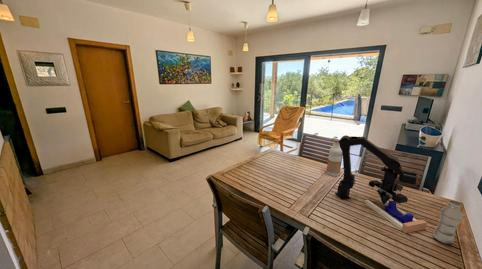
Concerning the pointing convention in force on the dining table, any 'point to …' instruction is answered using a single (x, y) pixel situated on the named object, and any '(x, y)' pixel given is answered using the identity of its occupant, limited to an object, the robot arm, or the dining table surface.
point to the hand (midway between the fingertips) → (383, 203)
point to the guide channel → (405, 227)
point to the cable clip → (397, 213)
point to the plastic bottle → (448, 222)
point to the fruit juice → (334, 159)
